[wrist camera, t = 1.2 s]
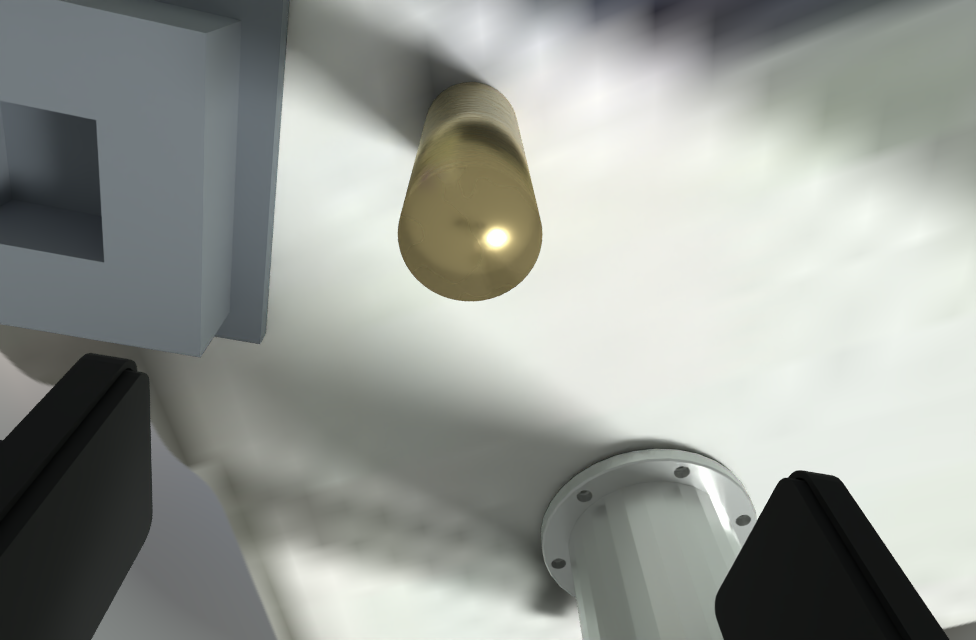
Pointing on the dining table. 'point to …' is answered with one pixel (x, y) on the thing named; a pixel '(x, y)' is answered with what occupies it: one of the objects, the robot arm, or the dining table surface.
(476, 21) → the dining table surface
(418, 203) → the pipe stub
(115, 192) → the socket fitting
